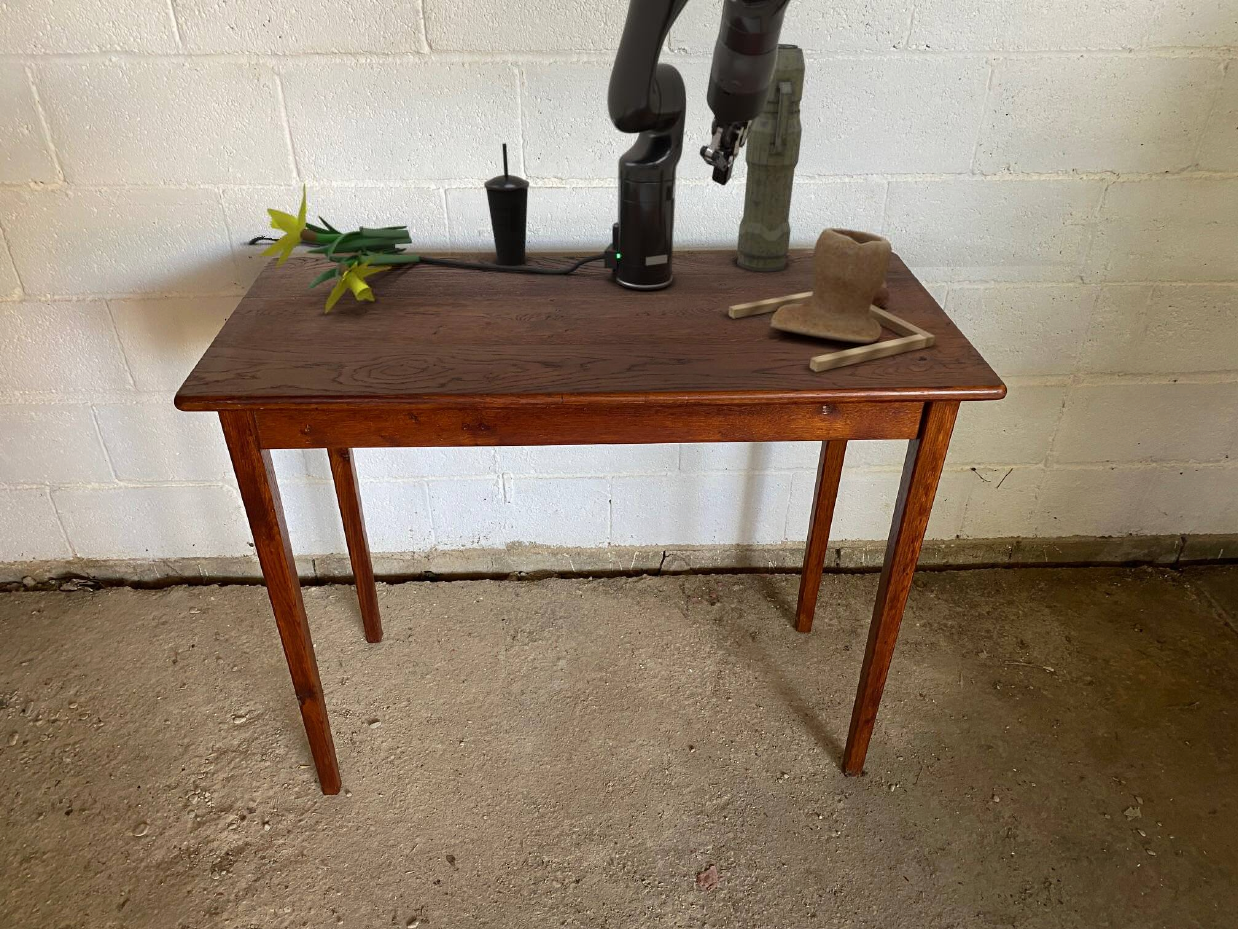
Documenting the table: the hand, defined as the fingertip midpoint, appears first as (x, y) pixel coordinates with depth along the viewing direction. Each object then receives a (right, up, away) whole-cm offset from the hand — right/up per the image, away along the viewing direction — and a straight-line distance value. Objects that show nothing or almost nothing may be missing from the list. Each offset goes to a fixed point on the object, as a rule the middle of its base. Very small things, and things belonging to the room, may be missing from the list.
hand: (720, 180), depth 116 cm
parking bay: (+16, -20, +8) cm, 27 cm away
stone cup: (+17, -20, +8) cm, 27 cm away
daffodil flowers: (-57, -11, +21) cm, 61 cm away
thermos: (+11, -4, +34) cm, 36 cm away
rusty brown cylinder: (+27, -11, +23) cm, 37 cm away
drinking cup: (-33, -3, +33) cm, 47 cm away
